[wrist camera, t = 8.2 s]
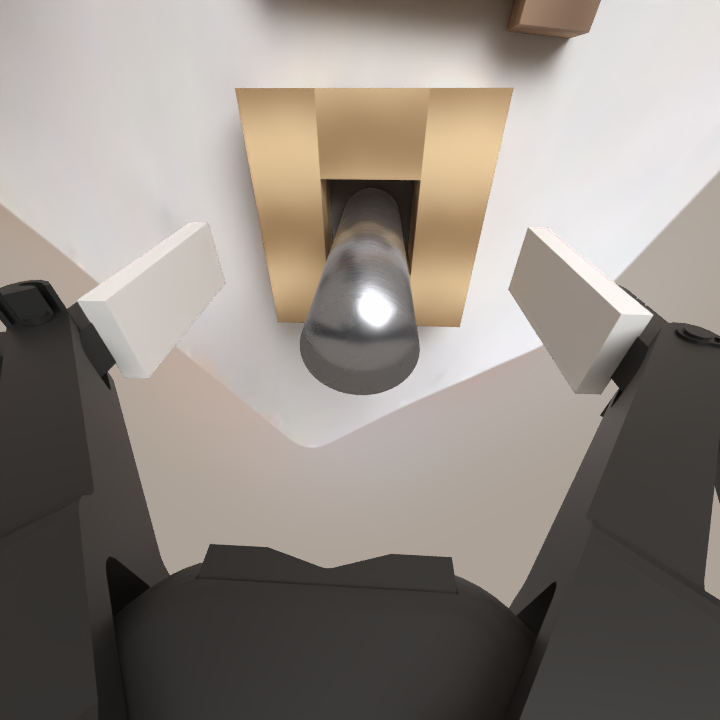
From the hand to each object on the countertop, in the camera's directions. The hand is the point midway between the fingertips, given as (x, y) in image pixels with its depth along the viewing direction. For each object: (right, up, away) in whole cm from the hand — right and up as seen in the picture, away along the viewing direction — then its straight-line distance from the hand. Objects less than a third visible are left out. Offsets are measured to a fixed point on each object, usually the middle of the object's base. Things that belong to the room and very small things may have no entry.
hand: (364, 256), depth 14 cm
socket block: (0, +5, +7) cm, 8 cm away
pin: (+1, +5, +7) cm, 8 cm away
